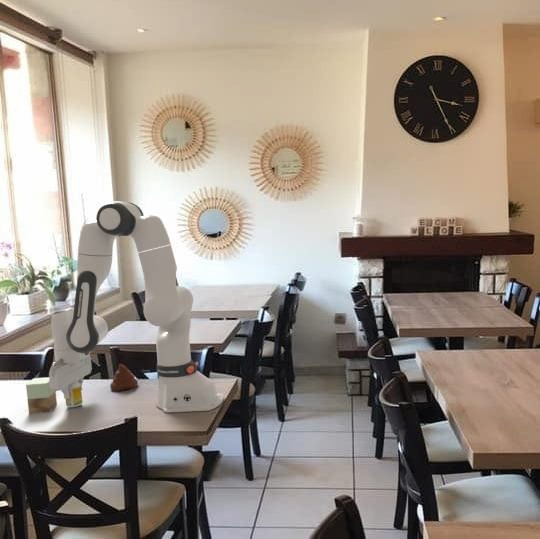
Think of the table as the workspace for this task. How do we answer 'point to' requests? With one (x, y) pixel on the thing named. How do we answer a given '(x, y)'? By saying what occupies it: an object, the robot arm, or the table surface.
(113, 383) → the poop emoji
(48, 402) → the tower base
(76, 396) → the supplement bottle
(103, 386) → the table surface
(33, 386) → the tower top
